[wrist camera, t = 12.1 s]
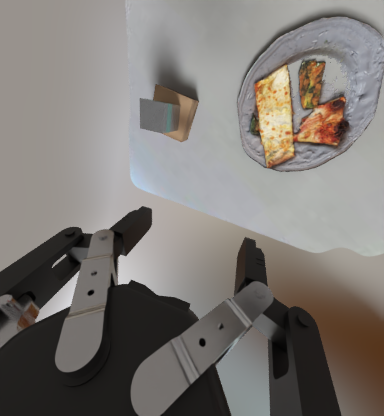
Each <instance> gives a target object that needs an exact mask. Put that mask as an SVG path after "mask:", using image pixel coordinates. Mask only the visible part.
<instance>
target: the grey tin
mask: <svg viewBox="0 0 384 416" xmlns="http://www.w3.org/2000/svg"><path fill="white" fill-rule="evenodd" d="M180 108H181V106H180V105H175V104H171V103H166V102H161V101H154V100H149V99H142V98H140V128H142V129H146V130H150V131H154V132H159V133H169V132H173V131H177V130H178V127H179V117H180Z"/></svg>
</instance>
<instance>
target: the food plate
mask: <svg viewBox="0 0 384 416" xmlns="http://www.w3.org/2000/svg"><path fill="white" fill-rule="evenodd" d="M312 55H323V56H327V55H328V58H330V59H331V58H335V59H336V61H337V64H339V63H341V65H342V66H341V70H342V71H341V72H342V74H343V75H344V74H345V72H347V76H346V78H347V86H348V82H350V88H351V90H350V89H348V88H347V86H346V88H345V90H344V91H343V92H342V93H340V94H342V95H344V96H342V97H340V96H339V95H340V94H337V92H338V91H339V90H338V89H336V91H333V90H334V87H333V85H334V83H333V84H331V85H329V83H327V84H326V82H325V80H323V82H322V77H323V73H324V69H325V63H326V62H322V63H317V61H316V60H313V61H311V60H310V61H309V62H307V63H305V61H304V62H303V63H302V66H301V70H300V72H299V78H300V83H299V85H300V87H299V91H298V92H297V95H296V96H295V97H293V95H294V94H293V89H292V87H291V81H290V75H289V72H288V69H287V67H288V66H287V65H289V64H291V63H294V62H296V61H299V60H302V59H304V58H308V57H310V56H312ZM330 63H331V62H330ZM383 75H384V39H383V38H382V36H381V34H380V33H379V32H377V31H376V30H375V29H373V28H371V26H369V25H367V24H366V23H363V22H360V21H356V20H354V19H351V18H350V19H349V17H330V18H321V19H320V20H317V21H316V20H315V21H314V22H310V23H308V24H306V25H304V26H302V27H299V28H297V29H295V30H293V31H291V32H289V33H286V34H284V35H283V36H281V37H279V38H277V39H276V40H275V41H274V42H273V43H272V44H271V45H270V46H269V47H268V48H267V50H266V51H265V52H263V54H262V55H261V56H260V57H259V58H258V59H257V61H256V62H255V63H254V65H253V66H252V68H251V69H250V70H249V72H248V74H247V76H246V78H245V80H244V82H243V85H242V88H241V92H240V96H239V98H238V106H237V107H238V114H239V115H238V116H239V124H240V133H241V141H242V144H243V145H242V146H243V148H244V150H245V152H246V153H247V155H248V156H249V157H250V158H252V159H253V160H255V161H256V162H258V163H259V164H260V165H262V166H263V167H265V168H270V169H273V170H276V171H280V172H282V171H286V172H290V171H303V170H309V169H311V168H316V167H318V166H320V165H322V164H324V163H326V162H328V161H329V160H331V159H333V158H335V157H336V156H338V155H340V154H342V153H343V152H345V151H346V150H347V149H349V148H350V146H351V145H352V144H353V142H355V141H356V139H357V138H358V137H359V136H361V134H362V133H363V132H364V130H365V129H366V128H367V126H368V125H369V124H370V122H371V120H372V119H373V118H374V115H375V112H376V109H377V103H378V98H379V94H380V88H381V84H382V79H383ZM264 76H265V77H264ZM325 76H326V75H325ZM343 78H344V77H343ZM333 81H336V82H337V77H336V79H335V80H333ZM324 82H325V83H324ZM345 84H346V83H344V85H345ZM328 88H329V90H327V89H328ZM349 90H350V91H349ZM347 91H348V92H349V94H348V95H347ZM334 92H336V94H334ZM344 92H345V93H344ZM355 93H356V95H355ZM299 94H300V95H299ZM319 96H320V97H319ZM346 100H348V102H346ZM298 102H299V103H298ZM347 103H348V104H347ZM345 105H346V106H345ZM299 109H300V110H299ZM297 114H299V115H297ZM298 126H300V129H299V130H298V129H297V127H298Z"/></svg>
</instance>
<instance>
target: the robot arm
mask: <svg viewBox="0 0 384 416" xmlns="http://www.w3.org/2000/svg"><path fill="white" fill-rule="evenodd" d="M151 225H152V209H150V208H147V207H144V206H142V207H141V208H139V209H138V210H134V211H132V212H130V213H128V214H127V215H126V216H125V217H123V218H122V219H121V220H120V221H118V222H117V223H116V224H115V225H114V226H112V227H111V228H110V229H109V230H108V229H104V230H100V231H97V232H96V233H94V234H86V233H85V234H84V233H82V230H81V228H79V227H70V228H66V229H64V230H62V231H61V232H59V233H58V234H56V235H55V236H53V237H52V238H50V239H49V240H47V241H46V242H44V243H43V244H41V245H40V246H38V247H37V248H35V249H34V250H32V251H31V252H29V253H28V254H26V255H25V256H23V257H22V258H21V259H19V260H17V261H16V262H14V263H13V264H11V265H10V266H8V267H7V268H5V269H4V270H3V271H1V272H0V416H231V413H230V409H229V407H228V403H227V400H226V397H225V394H224V391H223V388H222V385H221V381H220V378H219V375H218V372H217V369H216V365H217V364H218V363H219V362H220V361H221V360H222V359H223V358H224V357H225V356H226V355H227V354H228V352H229V351H230V350H231V349H232V348H233V347H234V346H235V345H236V343H237V342H238V341H239V340H240V339H241V338H242V337H243V336H244V335H245V334H246V333H247V332H248V331H249V330H250V329H251V328H252V327H255V328H256V329H257V330H258V331H259V332H261V333H262V334H263V335H265V336H266V337H267V338H268V357H269V387H270V389H269V390H270V416H341V412H340V409H339V405H338V402H337V397H336V394H335V390H334V386H333V383H332V379H331V375H330V371H329V367H328V364H327V360H326V357H325V353H324V349H323V345H322V341H321V338H320V334H319V330H318V327H317V324H316V322H315V320H314V319H313V318H312V317H311V315H310V314H309V313H307V312H306V311H305V310H303V309H302V308H300V307H296V306H294V307H291V308H288V307H287V306H285V305H284V304H282V303H281V302H279V301H278V300H276V299H275V298H274V297H273V294H272V292H271V290H270V289H269V288H268V285H267V276H266V267H265V258H264V254H263V252H262V250H261V249H259V248H256V242H255V240H253V239H250V238H246V237H245V238H244V240H243V243H242V245H241V248H240V250H239V252H238V257H237V268H236V279H235V291H234V297H233V298H231V299H226V300H225V301H223V302H222V303H221V304H219V305H218V306H217V307H216V308H214V309H213V310H212V311H210V312H209V313H208V314H207V315H205V316H204V317H203V318H201V319H200V320H199V319H198V317H197V316H196V315H195V314H194V313H193V311H191V310H190V309H189V307H190V303H187V302H185V301H182V300H180V299H177V298H175V297H166V296H158V295H156V294H155V293H154V292H153V291H151V290H150V289H149V288H148V287H146V286H145V285H143V284H140V283H138V282H135V281H133V280H131V281H130V282H129V284H121V285H118V257H119V256H120V255H124V256H127V254H128V253H129V252H130V251H131V250H132V249H133V247H134V246H135V245H136V244H137V243H138V242H139V241H140V240H141V238H142V237H143V236H144V235H145V234H146V233H147V231H148V230H149V229H150V227H151ZM64 254H66V255H67V256H66V257H65V258H64V259H63V260H61V261H60V262H59V263H58V264H57V265H55V266H54V267H53V268H52V266H53V264H54V263H55V262H56V261H57V260H58V259H60V258H61V257H62V256H63V255H64ZM79 270H80V272H79V276H78V280H77V284H76V288H75V292H74V296H73V300H72V304H71V306H70V307H68V308H66V309H64V310H62V311H60V312H57V313H55V314H53V315H51V316H49V317H47V318H45V319H43V320H41V321H39V322H37V323H35V319H36V318H37V316H38V314H39V310H40V309H41V308H42V307H43V306H44V305H45V304H46V303H47V302H48V301H49V300H50V299H51V298H52V297H53V296H54V295H55V294H56V293H57V292H58V291H59V290H60V289H61V288H62V287H63V286H64V285H65V284H66V283H67V282H68V281H69V280H70V279H71V278H72V277H73V276H74V275H75V274H76V273H77V272H78V271H79Z"/></svg>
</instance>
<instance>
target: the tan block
mask: <svg viewBox="0 0 384 416" xmlns="http://www.w3.org/2000/svg"><path fill="white" fill-rule="evenodd" d="M153 100H154V101H161V102H166V103H171V104H175V105H180V106H181V108H180V117H179V127H178V130H177V131H173V132H169V133H162V134H164V135H166V136H169V137H171V138H173V139H175V140H177V141H180V142H183V141H185V140H187V139H188V136H189V132H190V129H191V126H192V123H193V119H194V116H195V113H196V109H197V106H198V103H199V101H196V100H194V99H192V98H189V97H187V96H185V95H182V94H180V93H178V92H175V91H173V90H171V89H168V88H166V87H163V86H160V85H157V84H156V86H155V92H154V98H153Z"/></svg>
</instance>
